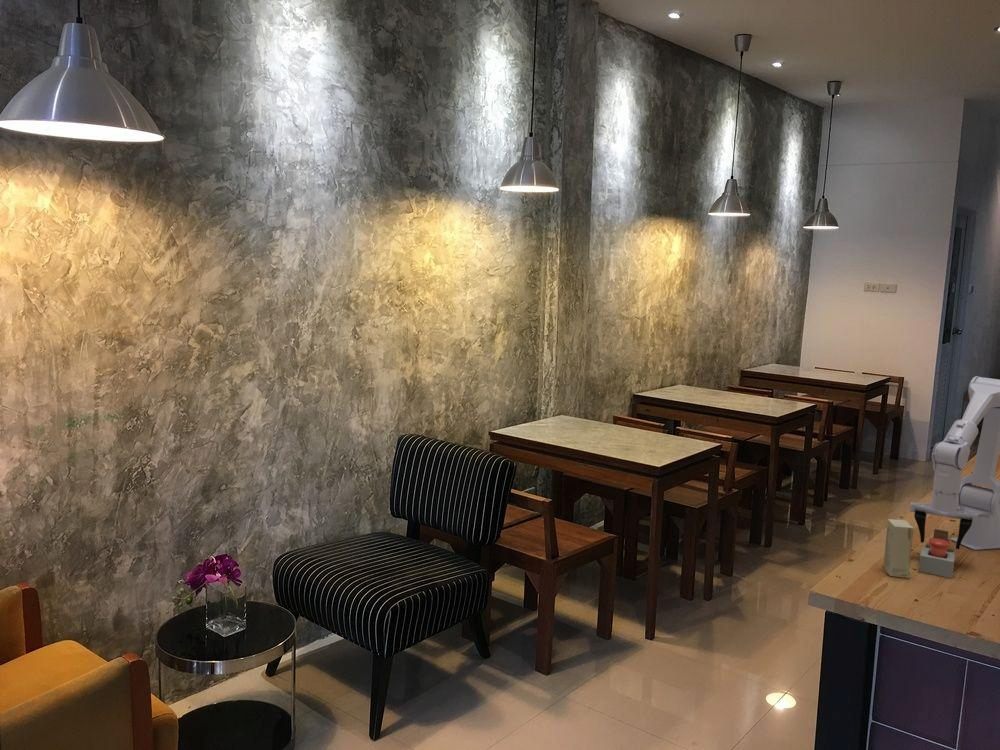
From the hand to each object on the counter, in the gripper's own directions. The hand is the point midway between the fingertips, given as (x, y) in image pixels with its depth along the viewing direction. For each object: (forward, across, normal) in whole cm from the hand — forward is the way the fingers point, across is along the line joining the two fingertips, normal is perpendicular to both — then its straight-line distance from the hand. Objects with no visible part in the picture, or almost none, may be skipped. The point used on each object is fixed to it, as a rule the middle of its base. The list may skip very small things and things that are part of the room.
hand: (939, 544), depth 200 cm
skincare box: (+4, -8, -14) cm, 17 cm away
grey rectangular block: (+4, 0, -7) cm, 8 cm away
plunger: (+2, 0, -7) cm, 7 cm away
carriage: (+4, 0, 0) cm, 4 cm away
